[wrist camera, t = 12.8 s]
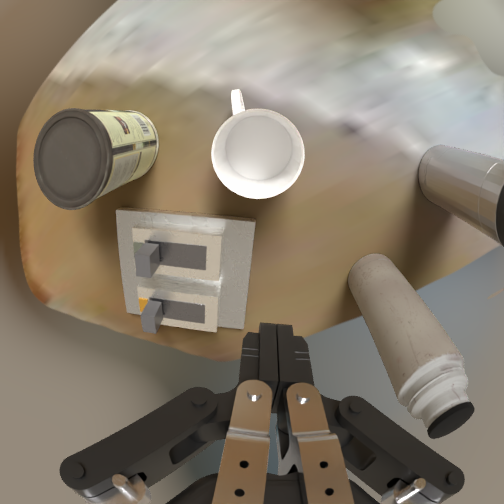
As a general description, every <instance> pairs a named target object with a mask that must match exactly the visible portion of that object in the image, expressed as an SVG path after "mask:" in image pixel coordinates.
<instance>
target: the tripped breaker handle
mask: <svg viewBox="0 0 504 504" xmlns="http://www.w3.org/2000/svg"><path fill="white" fill-rule="evenodd" d="M162 320H163V311H162V302H158V301H152V300H149V301H148V302H147V304H146V306H145V308H144V309H143V311H142V313H141V321H142V328H143V331H144V332H150V333H155V334H156V333H157V331H158V329H159V326H160V324H161V322H162Z"/></svg>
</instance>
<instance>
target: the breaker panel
mask: <svg viewBox="0 0 504 504" xmlns="http://www.w3.org/2000/svg"><path fill="white" fill-rule="evenodd" d="M116 222H117V236H118V247H119V257H120V266H121V275H122V282H123V289H124V296H125V303H126V309H127V312H128V313H133V314H138V315H141V313H142V311H143V309H144V308H145V306H146V304H147V302H148V301H149V300H152V301H158V302H162V311H163V320H162V322H161V324H162V325H168V326H174V327H181V328H187V329H194V330H202V331H209V332H217V328H218V327H227V328H236V329H244V320H245V312H246V303H247V294H248V285H249V276H250V267H251V258H252V249H253V240H254V231H255V223H256V219H253V218H244V217H234V216H224V215H214V214H203V213H192V212H180V211H168V210H156V209H142V208H128V207H120V208H118V209H116ZM144 243H152V244H159V257H160V266H159V267H158V269H157V270H156V272H155V273H154V275H153V276H152V278H145V277H138V276H136V268H135V256H134V254H135V253H136V252H137V251H138V250H139V249H140V248H141V246H142V245H143V244H144Z"/></svg>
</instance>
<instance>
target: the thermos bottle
mask: <svg viewBox="0 0 504 504" xmlns="http://www.w3.org/2000/svg"><path fill="white" fill-rule="evenodd" d="M348 284H349V288H350V290H351V292H352V294H353V296H354V299H355V300H356V302H357V304H358V307H359V309H360V311H361V313H362V315H363V318H364V319H365V322H366V324H367V326H368V328H369V330H370V333H371V335H372V337H373V340H374V342H375V344H376V347H377V349H378V352H379V354H380V356H381V358H382V361H383V363H384V366H385V368H386V370H387V373H388V376H389V378H390V380H391V383H392V386H393V388H394V391H395V393H396V396H397V399H398V401H399V403H400V404H401V405H403V406H405V407H407V409H408V412H409V413H410V414H411V416H412V417H413V418H416V419H422V420H423V422H424V424H425V427H426V428H428V430H427V432H428V435H429V437H430V438H432V439H435V438H440V437H442V436H445V435H447V434H449V433H451V432H453V431H454V430H456V429H457V428H459V427H460V426H462V425H463V424H464V423H465V422H466V421H467V420H468V419H469V418H470V417H471V416H472V414H473V412H474V406H473V405H472V403H471V402H468V401H469V399H468V396H467V395H466V393H465V390H466V388H467V386H468V378H467V376H466V373H465V370H464V359H463V357H462V355H461V354H460V352H459V351H458V349H457V347H456V346H455V345H454V343H453V342H452V340H451V339H450V337H449V336H448V334H447V333H446V331H445V330H444V329H443V327H442V326H441V324H440V323H439V322H438V320H437V319H436V318H435V316H434V315H433V313H432V312H431V311H430V309H429V308H428V307H427V305H426V304H425V303H424V301H423V300H422V299H421V297H420V296H419V295H418V294H417V292H416V291H415V290H414V289H413V287H412V286H411V285H410V284H409V282H408V281H407V280H406V278H405V277H404V276H403V275H402V273H401V272H400V271H399V270H398V269H397V267H396V266H395V265H394V264H393V263H392V261H391V260H390V259H389V258H388V257H386V256H384V255H381V254H370V255H367V256H364V257H363V258H361V259H360V260H358V261H357V262H356V263H355V264H354V266H353V267H352V269H351V271H350V273H349V277H348Z"/></svg>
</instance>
